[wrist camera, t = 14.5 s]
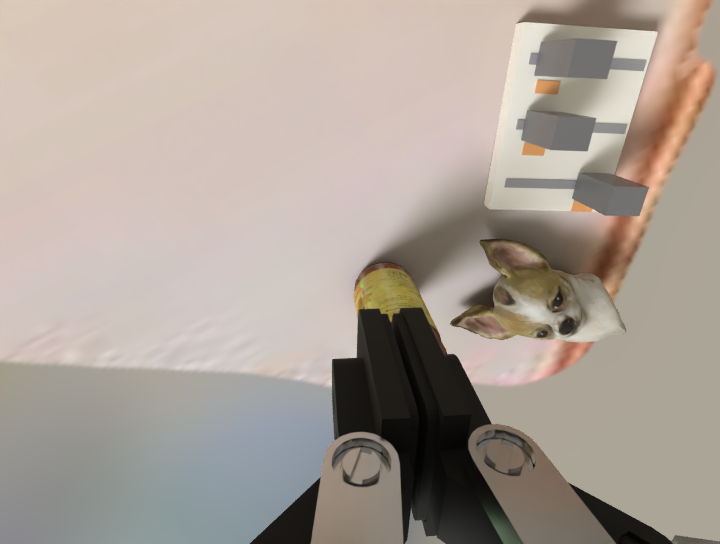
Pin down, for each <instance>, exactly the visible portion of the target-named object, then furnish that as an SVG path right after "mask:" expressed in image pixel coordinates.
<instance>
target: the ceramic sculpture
mask: <svg viewBox="0 0 720 544" xmlns="http://www.w3.org/2000/svg"><path fill="white" fill-rule="evenodd" d="M480 244H481V246H482V247H483V249H484V250H485V253H486V255H487V258H488V260H489V263H490V265H491V266H492V267H493V268H495V269H496V270H497V271H499V272H500V273H502V274H504V275H503V276H502V277H501V278H500V279H499V280H498V282H497V284H496V285H495V287H494V292H493V301H494V305H495V306H494V308H492V307H489V306H486V305H476V306H473V307H472V308H470V309H469V310H467V311H465V312H464V313H462V314H461V315H460V316H458V317H456V318H455V319H453V320H452V321H451V323H450V325H452V326H456V327H462V328H464V329H467V330H469V331H471V332H473V333H475V334H479V335H480V336H482V337H485V338H488V339H492V338H495V339H499V340H504V339H508V338H511V337H513V336H516V335H521V336H526V337H530V338H534V339H537V340H551V339H563V340H564V341H567V342H571V341H573V342H582V343H585V342H591V341H599V340H602V339H604V338H608V337H610V336H613V335H617V334H624V333H626V328H625V325H624V324H623V322H622V320H621V318H620V315H619V312H618V310H617V309H616V307H615V305H614V303H613V301H612V299H611V297H610V295H609V293H608V292H607V290H606V289H605V287H604V286H603V284H602V282H601V279H600V278H599V277H597V276H596V275H594V274H590V273H578V274H574V275H572V274H567V273H564V272H563V271H561V270H553V269H551V267H550V266H549V265H548V262H547V260H546V258H545V257H544V256H543V255H542V253H541V252H540V251H539V250H537V249H534V248H532V247H530V246H528V245H526V244H525V243H521V242H517V241H513V240H506V239H497V238H496V239H486V240H480Z"/></svg>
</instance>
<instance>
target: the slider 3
mask: <svg viewBox="0 0 720 544" xmlns="http://www.w3.org/2000/svg"><path fill="white" fill-rule="evenodd" d="M648 189H649V187H647V186H644V185H641V184H638V183H635V182H633V181H630V180H627V179H624V178H621V177H619V176H616V175H613V174H610V173H580V172H579V174H578V178H577V181H576V185H575V189H574V193H573V196H572V199H574V200H576V201H578V202H580V203H582V204H584V205H586V206H588V207H590V208H592V209H593V210H595V211H597V212H599V213H601V214H603V215H608V216H639V215H640V212H641V209H642V206H643V203H644V200H645V197H646V194H647V192H648Z"/></svg>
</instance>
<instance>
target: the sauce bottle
mask: <svg viewBox="0 0 720 544" xmlns="http://www.w3.org/2000/svg"><path fill="white" fill-rule="evenodd" d="M354 290H355V294H354V302H355V307H356V312H357V317H358V310H359V309H377V308H379V309H380V311H381V314H388V316H389V319H390V323H391V326H392V315H393V313H399V311H400V308H412V307H422V309H423V311H424V313H425V315H426V317H427V320H428V322H429V324H430V326H431V328H432V330H433V332H434V335H435V337H436V339H437V341H438V343H439V345H440V347H441V350H442V352H443V354H444V355H446V354H447V352H446V349H445V347H444V345H443V344H442V342H441V338H440V334H439V332H438V330H437V328H436V326H435V324H434V322H433V320H432V318H431V316H430V314H429V312H428V310H427V307H426V305H425V303H424V301H423V299H422V297H421V295H420V293H419V291H418V289H417V287H416V285H415V283H414V281H413V280H412V278H411V277H410V275H409V274H408V273H407V272H406V270H404V269H403V268H402V267H399V266H397V265H395V264H393V263H383V262H382V263H377V264H374V265H372V266H370V267H368V268H366V269H365V270H364V271H363V272H362V273H361V274H360V276H359V277H358V279H357V280H356V283H355V289H354Z"/></svg>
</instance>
